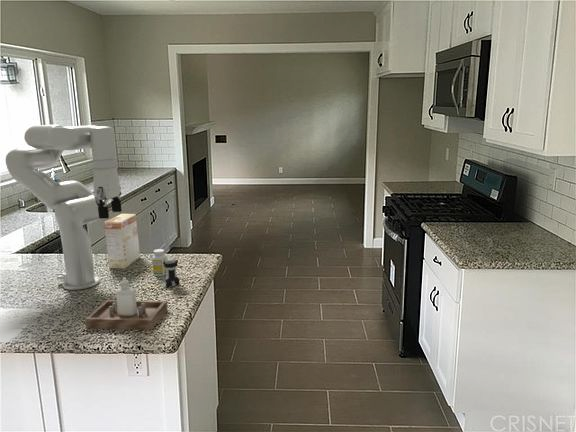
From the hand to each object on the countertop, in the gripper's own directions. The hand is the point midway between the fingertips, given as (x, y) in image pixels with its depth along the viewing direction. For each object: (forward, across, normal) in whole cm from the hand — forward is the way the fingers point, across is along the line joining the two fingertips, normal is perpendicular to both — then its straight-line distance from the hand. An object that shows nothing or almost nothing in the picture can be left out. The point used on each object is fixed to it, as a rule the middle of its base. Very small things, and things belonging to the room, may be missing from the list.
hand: (110, 214), depth 162 cm
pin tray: (+28, +20, +12) cm, 37 cm away
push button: (+28, -8, +16) cm, 34 cm away
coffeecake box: (+28, -33, -12) cm, 45 cm away
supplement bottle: (+28, -20, +8) cm, 36 cm away
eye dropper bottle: (+27, +20, +12) cm, 36 cm away
